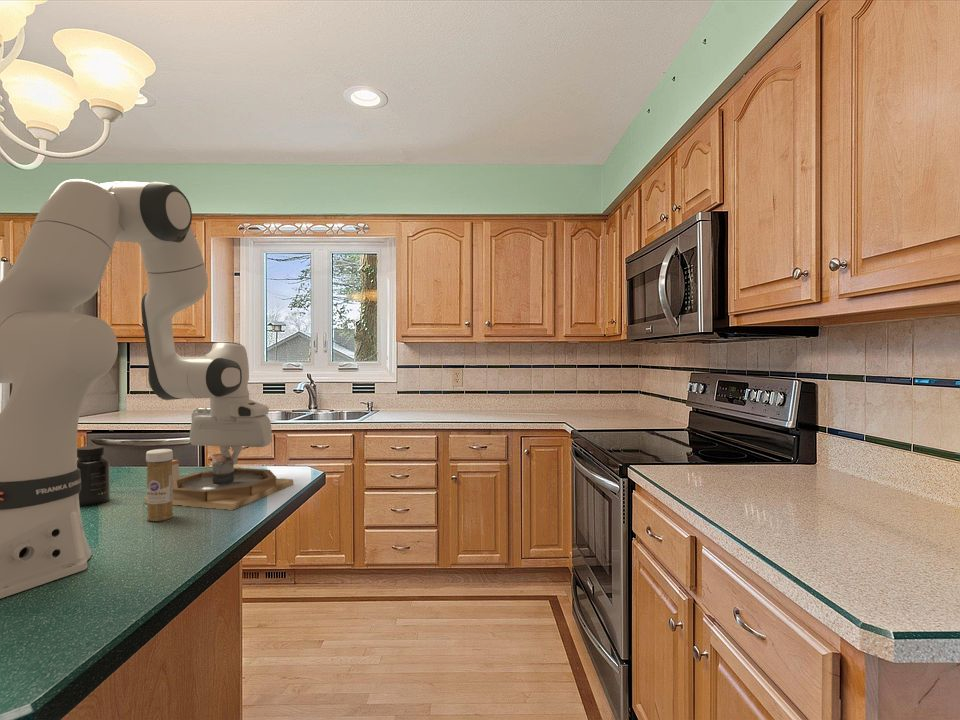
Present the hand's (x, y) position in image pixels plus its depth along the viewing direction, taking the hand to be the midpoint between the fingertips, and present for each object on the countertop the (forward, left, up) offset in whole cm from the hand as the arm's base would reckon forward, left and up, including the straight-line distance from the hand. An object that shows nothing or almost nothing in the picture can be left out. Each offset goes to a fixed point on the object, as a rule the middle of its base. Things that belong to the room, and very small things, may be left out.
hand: (231, 464), depth 136 cm
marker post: (-8, +10, -5) cm, 14 cm away
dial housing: (-8, -5, -5) cm, 11 cm away
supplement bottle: (-21, +18, -5) cm, 29 cm away
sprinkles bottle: (-27, -6, -5) cm, 28 cm away
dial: (-7, -3, -3) cm, 8 cm away
